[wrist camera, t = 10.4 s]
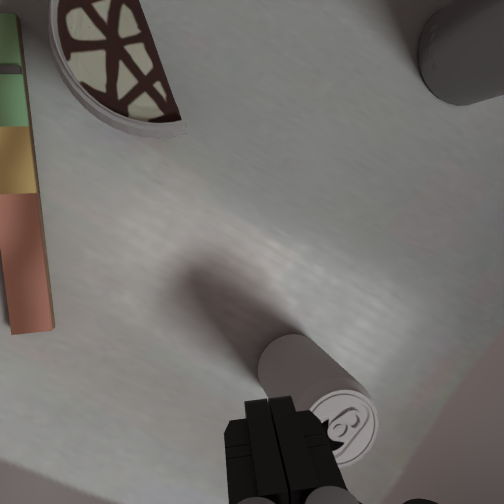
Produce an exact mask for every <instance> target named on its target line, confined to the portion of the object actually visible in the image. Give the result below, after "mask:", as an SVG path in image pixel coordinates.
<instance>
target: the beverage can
mask: <svg viewBox="0 0 504 504" xmlns="http://www.w3.org/2000/svg"><path fill="white" fill-rule="evenodd" d="M258 377H259V381H260V384H261V386H262V387H263V389H264V391H265V393H266V394H267V396H268V398H274V397H281V396H289V395H291V397H292V400H293V403H294V406H295V409H296V412H297V411H304V410H310V411H311V412H312V413H313V414H315V415H316V416H317V417H318V418H319V419H320V420H321V423H322V426H323V428H324V431H325V434H326V436H327V439H328V441H329V444H330V446H331V449H332V452H333V454H334V457H335V459H336V462H337V465H338V467H339V468H343V467H347V466H349V465H352V464H354V463H355V462H357V461H359V460H360V459H361V458H362V457H363V456H364V455H365V454H366V453H367V452H368V451H369V450H370V448H371V447H372V445H373V443H374V441H375V439H376V436H377V432H378V425H379V422H378V414H377V411H376V409H375V407H374V404H373V401H372V398H371V396H370V394H369V393H368V391H367V390H366V389H365V388H364V387H363V386H362V385H361V384H360V383H359V382H358V381H357V380H356V379H355V378H353V377H352V376H351V375H350V374H349V373H348V372H347V371H346V370H345V369H344V368H342V367H341V366H340V365H339V364H338V363H337V362H336V361H335V360H334V359H332V358H331V357H330V356H329V355H328V354H327V353H326V352H325V351H324V350H323V349H321V348H320V347H319V346H318V345H317V344H316V343H315V342H314V341H312V340H311V339H309V338H308V337H305V336H302V335H297V334H290V335H285V336H282V337H279V338H277V339H276V340H274V341H273V342H271V343H270V344H269V345H268V346H267V347H266V348H265V350H264V351H263V353H262V355H261V357H260V360H259V364H258Z"/></svg>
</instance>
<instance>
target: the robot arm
mask: <svg viewBox="0 0 504 504" xmlns="http://www.w3.org/2000/svg"><path fill="white" fill-rule="evenodd" d="M418 57H419V66H420V70H421V73H422V76H423V78H424V80H425V82H426V84H427V86H428V87H429V89H430V90H431V91H432V92H433V93H434V94H435V95H436V96H437V97H438V98H439V99H441V100H443V101H445V102H447V103H449V104H453V105H457V106H460V105H470V104H473V103H477V102H480V101H484V100H487V99H490V98H494V97H497V96H501V95H504V0H453V1H452V2H450V3H449V4H447V5H446V6H444V7H443V8H441V9H440V10H439V11H437V12H436V13H435V14H434V15H433V16H432V17H431V19H430V20H429V21H428V22H427V24H426V26H425V28H424V30H423V32H422V35H421V39H420V42H419V51H418ZM244 403H245V415H246V418H245V419H238V420H231V421H229V424H228V426H227V428H226V430H225V432H224V440H225V454H226V468H227V482H228V496H229V504H362V503H360V502H359V501H357V499H356V498H355V497H354V496H353V495H352V494H351V493H350V492H349V491H348V490H347V488H346V485H345V483H344V480H343V478H342V475H341V472H340V470H339V467H338V465H337V462H336V459H335V457H334V454H333V452H332V449H331V446H330V444H329V441H328V439H327V436H326V434H325V431H324V428H323V426H322V423H321V420H320V419H319V418H318V417H317V416H316V415H315V414H313V413H312V412H311V411H310V410H304V411H297V412H296V409H295V406H294V403H293V400H292V397H291V395H289V396H281V397H274V398H268V401H267V399H259V400H252V401H244ZM403 504H437V503H436V502H433V501H430V500H426V499H412V500H409V501H406V502H405V503H403Z"/></svg>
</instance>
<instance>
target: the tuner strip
mask: <svg viewBox="0 0 504 504" xmlns="http://www.w3.org/2000/svg"><path fill="white" fill-rule="evenodd" d="M0 250H1V258H2V266H3V273H4V281H5V289H6V296H7V304H8V312H9V320H10V327H11V335H15V334H24V333H34V332H43V331H52V330H53V329H54V327H55V320H54V312H53V303H52V294H51V286H50V277H49V268H48V260H47V251H46V242H45V234H44V225H43V216H42V207H41V199H40V190H39V181H38V173H37V164H36V155H35V147H34V138H33V129H32V121H31V112H30V103H29V94H28V86H27V77H26V68H25V60H24V51H23V42H22V34H21V25H20V19H19V18H18V17H17V15H16V14H14V13H0Z"/></svg>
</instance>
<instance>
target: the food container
mask: <svg viewBox="0 0 504 504" xmlns="http://www.w3.org/2000/svg"><path fill="white" fill-rule="evenodd" d="M48 31H49V39H50V45H51V51H52V54H53V57H54V60H55V63H56V67H57V69H58V71H59V73H60V75H61V77H62V79H63V81H64V83H65V84H66V85H67V87H68V88H69V90H70V91H71V93H72V94H73V96H74V97H75V98H76V99H77V100H78V101H79V102H80V103H81V104H82V105H83V106H84V107H85V108H86V109H87V110H88V111H89V112H90V113H92V114H93V115H94V116H96V117H97V118H98V119H99V120H101V121H103V122H105V123H106V124H108V125H110V126H111V127H113V128H116V129H118V130H121V131H123V132H126V133H128V134H133V135H137V136H141V137H150V138H168V137H176V136H180V135H184V134H187V126H186V120H181V116H180V114H179V109H178V107H177V105H176V103H175V100H174V98H173V95H172V92H171V89H170V86H169V83H168V81H167V78H166V75H165V72H164V69H163V67H162V64H161V61H160V58H159V55H158V52H157V49H156V47H155V44H154V41H153V38H152V35H151V32H150V29H149V27H148V24H147V21H146V19H145V16H144V13H143V11H142V8H141V5H140V2H139V0H49V5H48Z"/></svg>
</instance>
